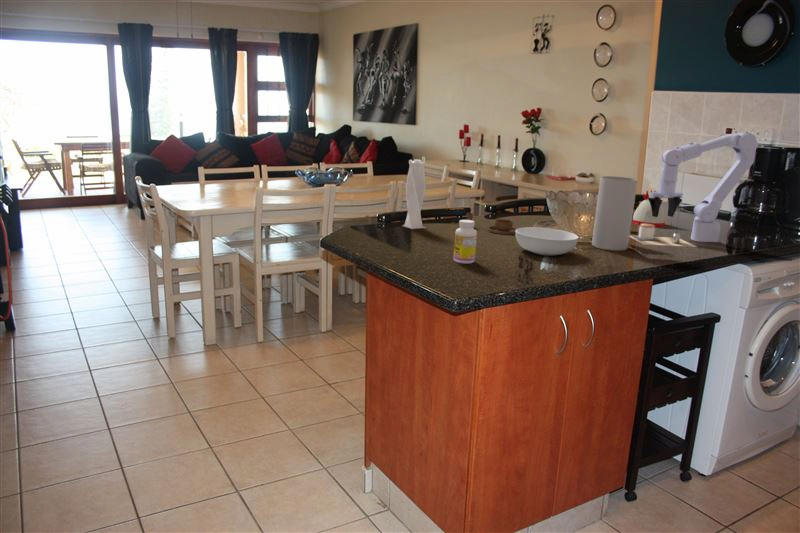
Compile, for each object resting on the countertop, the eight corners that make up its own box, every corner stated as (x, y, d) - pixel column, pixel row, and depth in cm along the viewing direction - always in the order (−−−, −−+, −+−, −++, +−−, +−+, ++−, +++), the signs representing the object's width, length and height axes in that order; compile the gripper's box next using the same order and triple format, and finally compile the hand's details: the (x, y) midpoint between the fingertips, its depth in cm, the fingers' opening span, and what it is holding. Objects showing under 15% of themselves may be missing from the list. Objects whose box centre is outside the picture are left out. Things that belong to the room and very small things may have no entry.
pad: (651, 237, 247) (651, 236, 247) (660, 241, 240) (660, 240, 240) (631, 236, 247) (631, 235, 247) (639, 240, 239) (639, 239, 239)
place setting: (494, 237, 241) (496, 222, 239) (462, 227, 257) (463, 213, 255) (529, 234, 250) (531, 220, 248) (496, 225, 266) (497, 211, 265)
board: (677, 241, 249) (678, 237, 249) (697, 250, 234) (697, 246, 233) (627, 239, 248) (627, 235, 248) (643, 248, 233) (644, 244, 232)
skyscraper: (428, 229, 248) (433, 156, 241) (411, 230, 243) (416, 156, 236) (416, 225, 254) (420, 154, 247) (399, 226, 250) (403, 154, 243)
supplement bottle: (451, 258, 202) (454, 218, 199) (472, 259, 203) (475, 219, 199) (455, 263, 196) (458, 222, 192) (476, 264, 196) (479, 223, 193)
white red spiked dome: (629, 220, 294) (633, 187, 290) (660, 222, 292) (665, 189, 288) (635, 225, 280) (640, 191, 276) (668, 228, 279) (673, 193, 275)
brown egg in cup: (649, 236, 246) (651, 223, 244) (654, 239, 241) (656, 226, 240) (636, 236, 245) (638, 223, 244) (641, 238, 241) (643, 225, 239)
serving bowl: (564, 263, 204) (567, 242, 202) (504, 252, 214) (505, 232, 213) (583, 252, 221) (586, 233, 219) (526, 243, 232) (528, 224, 230)
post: (677, 242, 239) (678, 233, 238) (680, 244, 237) (681, 234, 236) (671, 242, 239) (672, 233, 238) (673, 243, 237) (675, 234, 236)
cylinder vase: (611, 252, 223) (621, 181, 217) (584, 245, 233) (593, 176, 227) (634, 249, 230) (645, 180, 223) (607, 242, 240) (616, 176, 233)
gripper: (660, 182, 238) (655, 218, 241) (690, 182, 243) (684, 218, 246) (647, 180, 244) (642, 215, 248) (677, 180, 249) (671, 214, 253)
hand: (662, 216), depth 247 cm, fingers open, 7 cm apart
